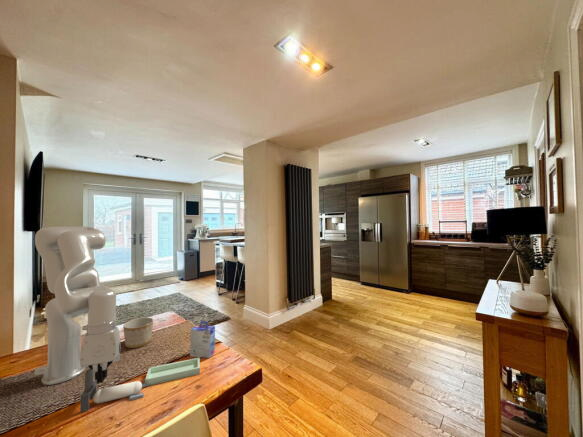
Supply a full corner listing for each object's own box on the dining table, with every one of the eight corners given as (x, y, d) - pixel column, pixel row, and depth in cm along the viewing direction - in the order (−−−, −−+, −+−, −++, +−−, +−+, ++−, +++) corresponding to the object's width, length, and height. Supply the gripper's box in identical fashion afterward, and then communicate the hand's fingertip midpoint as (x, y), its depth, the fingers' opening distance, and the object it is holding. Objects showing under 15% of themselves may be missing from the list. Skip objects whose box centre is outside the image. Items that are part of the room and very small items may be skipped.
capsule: (91, 407, 76) (91, 395, 76) (95, 399, 80) (96, 387, 80) (140, 395, 82) (140, 384, 82) (143, 388, 85) (143, 377, 85)
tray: (145, 386, 86) (145, 379, 86) (149, 373, 93) (149, 367, 93) (199, 373, 93) (199, 367, 93) (199, 362, 100) (199, 357, 101)
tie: (80, 412, 74) (81, 377, 74) (89, 397, 80) (90, 364, 81) (88, 410, 75) (88, 375, 75) (96, 395, 81) (97, 363, 81)
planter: (117, 346, 114) (117, 325, 114) (142, 335, 125) (142, 315, 125) (134, 352, 109) (134, 330, 109) (158, 339, 120) (158, 319, 121)
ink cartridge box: (215, 351, 109) (215, 320, 110) (210, 358, 104) (210, 326, 104) (195, 350, 110) (196, 319, 111) (189, 357, 105) (189, 325, 105)
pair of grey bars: (129, 400, 79) (129, 398, 79) (134, 387, 85) (134, 385, 85) (143, 397, 81) (143, 394, 81) (146, 384, 87) (146, 382, 87)
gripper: (68, 335, 73) (67, 394, 73) (125, 327, 79) (124, 381, 79) (79, 326, 80) (78, 379, 80) (130, 319, 86) (129, 368, 85)
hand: (101, 380), depth 79 cm, fingers closed
